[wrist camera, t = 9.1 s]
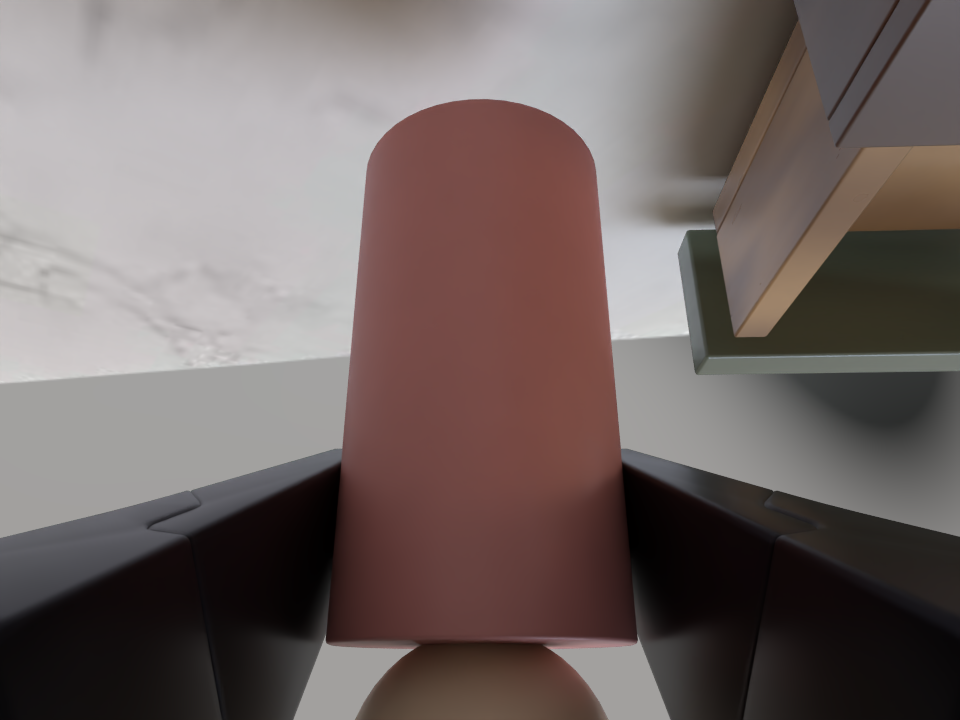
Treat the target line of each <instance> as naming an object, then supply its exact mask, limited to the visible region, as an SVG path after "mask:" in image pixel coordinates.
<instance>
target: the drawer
mask: <svg viewBox="0 0 960 720" xmlns="http://www.w3.org/2000/svg"><path fill="white" fill-rule="evenodd" d="M713 217H714V222H715V228H716V230H689V231H687V232H686V234H685V237H684V239H683V242H682V244H681V247H680V249H679V252H678V258H679V265H680V272H681V279H682V286H683V293H684V300H685V306H686V313H687V320H688V327H689V334H690V341H691V348H692V354H693V361H694V368H695V373H696V374H697V375H714V374H781V373H847V372H914V371H960V145H945V146H906V147H867V148H836V147H835V145H834V142H833V138H832V135H831V131H830V128H829V120H827V118H826V115H825V111H824V107H823V104H822V100H821V97H820V93H819V90H818V86H817V83H816V79H815V75H814V72H813V68H812V65H811V61H810V58H809V54H808V51H807V47H806V43H805V40H804V36H803V33H802V29H801V26H800V22H799V19H798V21H797V23H796V26H795V28H794V30H793V32H792V35H791V37H790V39H789V41H788V43H787V46H786V48H785V50H784V52H783V55H782V57H781V59H780V61H779V64H778V66H777V68H776V70H775V73H774V75H773V77H772V79H771V82H770V84H769V86H768V88H767V90H766V93H765V95H764V97H763V99H762V102H761V104H760V106H759V108H758V111H757V113H756V115H755V117H754V120H753V122H752V124H751V126H750V129H749V131H748V133H747V135H746V137H745V140H744V142H743V144H742V146H741V149H740V151H739V153H738V155H737V158H736V160H735V162H734V164H733V167H732V169H731V171H730V173H729V176H728V178H727V180H726V182H725V184H724V187H723V189H722V191H721V193H720V196H719V198H718V200H717V202H716V205H715V207H714V209H713Z"/></svg>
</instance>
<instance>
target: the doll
mask: <svg viewBox="0 0 960 720" xmlns="http://www.w3.org/2000/svg"><path fill="white" fill-rule="evenodd" d="M637 641H638V638H637V626H636V615H635V603H634V592H633V581H632V570H631V559H630V547H629V536H628V525H627V514H626V503H625V491H624V480H623V469H622V458H621V447H620V436H619V424H618V413H617V402H616V390H615V379H614V368H613V357H612V346H611V334H610V323H609V312H608V301H607V289H606V278H605V267H604V256H603V245H602V233H601V222H600V211H599V200H598V189H597V177H596V169H595V164H594V160H593V157H592V155H591V152H590V150H589V149H588V147H587V146H586V144H585V143H584V141H583V140H582V139H581V137H580V136H579V135H578V134H577V133H576V132H575V131H574V130H573V129H572V128H570V127H569V126H568V125H566V124H565V123H564V122H562V121H561V120H559V119H557V118H556V117H554V116H552V115H550V114H548V113H546V112H543V111H541V110H539V109H536V108H533V107H530V106H527V105H523V104H519V103H514V102H509V101H502V100H490V99H473V100H462V101H453V102H449V103H444V104H440V105H436V106H433V107H430V108H427V109H424V110H421V111H419V112H417V113H415V114H413V115H411V116H409V117H407V118H405V119H404V120H402V121H401V122H399V123H397V124H396V125H395V126H394V127H392V128H391V129H390V130H389V131H388V132H387V133H386V134H385V135H384V136H383V137H382V138H381V140H380V141H379V142H378V143H377V145H376V146H375V148H374V150H373V152H372V153H371V156H370V159H369V162H368V166H367V173H366V184H365V195H364V207H363V218H362V230H361V241H360V253H359V264H358V276H357V287H356V298H355V310H354V321H353V333H352V344H351V356H350V367H349V379H348V390H347V402H346V413H345V425H344V436H343V448H342V459H341V472H340V483H339V494H338V505H337V517H336V528H335V539H334V551H333V562H332V574H331V585H330V597H329V608H328V620H327V631H326V643H327V644H329V645H333V646H342V647H361V648H393V649H414V650H412V651H411V652H409V653H408V654H407V655H405V656H404V657H402V658H401V659H400V660H399V661H398V662H397V663H396V664H394V665H393V666H392V667H391V668H390V669H389V670H388V671H387V672H386V673H385V674H384V676H383V677H382V678H381V679H380V680H379V682H378V683H377V684H376V685H375V686H374V688H373V689H372V691H371V692H370V694H369V695H368V697H367V698H366V700H365V702H364V703H363V705H362V707H361V709H360V711H359V713H358V715H357V717H356V719H355V720H608V718H607V716H606V714H605V712H604V710H603V708H602V706H601V704H600V702H599V701H598V699H597V698H596V696H595V695H594V693H593V692H592V690H591V689H590V687H589V686H588V684H587V683H586V682H585V681H584V680H583V679H582V677H581V676H580V675H579V674H578V673H577V672H576V670H574V669H573V668H572V667H571V666H570V665H569V664H568V663H567V662H566V661H565V660H563V659H562V658H561V657H560V656H558V655H557V654H555V653H554V652H553V651H551V650H550V649H570V648H602V647H620V646H631V645H634V644H636V643H637Z"/></svg>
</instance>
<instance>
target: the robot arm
mask: <svg viewBox="0 0 960 720" xmlns="http://www.w3.org/2000/svg"><path fill="white" fill-rule="evenodd" d="M621 458H622V469H623V480H624V491H625V503H626V514H627V525H628V536H629V547H630V559H631V570H632V581H633V592H634V603H635V615H636V626H637V634H638V637H639V639H640V642H641V644H642V647H643V649H644V652H645V655H646V657H647V660H648V662H649V665H650V668H651V670H652V673H653V675H654V678H655V681H656V683H657V686H658V688H659V691H660V693H661V696H662V699H663V701H664V704H665V706H666V709H667V711H668V714H669V717H670V719H671V720H960V537H958V536H954V535H950V534H946V533H941V532H937V531H933V530H929V529H925V528H921V527H917V526H912V525H908V524H904V523H900V522H896V521H891V520H888V519H883V518H879V517H875V516H871V515H867V514H863V513H859V512H855V511H851V510H847V509H843V508H839V507H835V506H831V505H827V504H824V503H820V502H816V501H812V500H809V499H805V498H801V497H798V496H794V495H790V494H787V493H783V492H780V491H774V492H773V491H772V490H770V489H766V488H763V487H759V486H756V485H752V484H749V483H745V482H742V481H738V480H734V479H731V478H727V477H724V476H721V475H717V474H713V473H710V472H707V471H703V470H699V469H696V468H692V467H689V466H685V465H682V464H678V463H675V462H671V461H668V460H664V459H661V458H657V457H654V456H650V455H647V454H643V453H640V452H636V451H633V450H629V449H621ZM341 459H342V449H333V450H330V451H326V452H323V453H320V454H316V455H313V456H309V457H306V458H302V459H299V460H295V461H292V462H288V463H285V464H281V465H278V466H274V467H271V468H267V469H264V470H261V471H257V472H254V473H250V474H247V475H243V476H240V477H236V478H233V479H229V480H226V481H222V482H219V483H215V484H212V485H208V486H205V487H201V488H198V489H195V490H192V491H191V492H190V491H184V492H181V493H177V494H174V495H170V496H167V497H163V498H159V499H156V500H152V501H148V502H145V503H141V504H137V505H134V506H129V507H126V508H122V509H118V510H114V511H110V512H106V513H102V514H98V515H94V516H90V517H86V518H81V519H77V520H73V521H69V522H65V523H61V524H57V525H53V526H49V527H44V528H40V529H36V530H32V531H28V532H24V533H20V534H16V535H12V536H7V537H3V538H0V720H293V719H294V716H295V714H296V711H297V708H298V706H299V703H300V701H301V698H302V695H303V693H304V690H305V687H306V685H307V682H308V680H309V677H310V674H311V672H312V669H313V666H314V664H315V661H316V659H317V656H318V653H319V651H320V648H321V646H322V643H323V640H324V638H325V635H326V631H327V620H328V608H329V597H330V585H331V574H332V562H333V551H334V539H335V528H336V517H337V505H338V494H339V483H340V472H341Z"/></svg>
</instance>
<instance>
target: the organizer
mask: <svg viewBox="0 0 960 720" xmlns="http://www.w3.org/2000/svg"><path fill="white" fill-rule="evenodd" d="M793 1H794V4H795V8H796V11H797V15H798V19H799V22H800V26H801V29H802V33H803V36H804V40H805V43H806V47H807V51H808V54H809V58H810V61H811V65H812V68H813V72H814V75H815V79H816V83H817V86H818V90H819V93H820V97H821V100H822V104H823V107H824V111H825V115H826V118H827V120H829V128H830V131H831V135H832V138H833V142H834V145H835V147H836V148H867V147H906V146H945V145H960V0H793Z"/></svg>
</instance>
